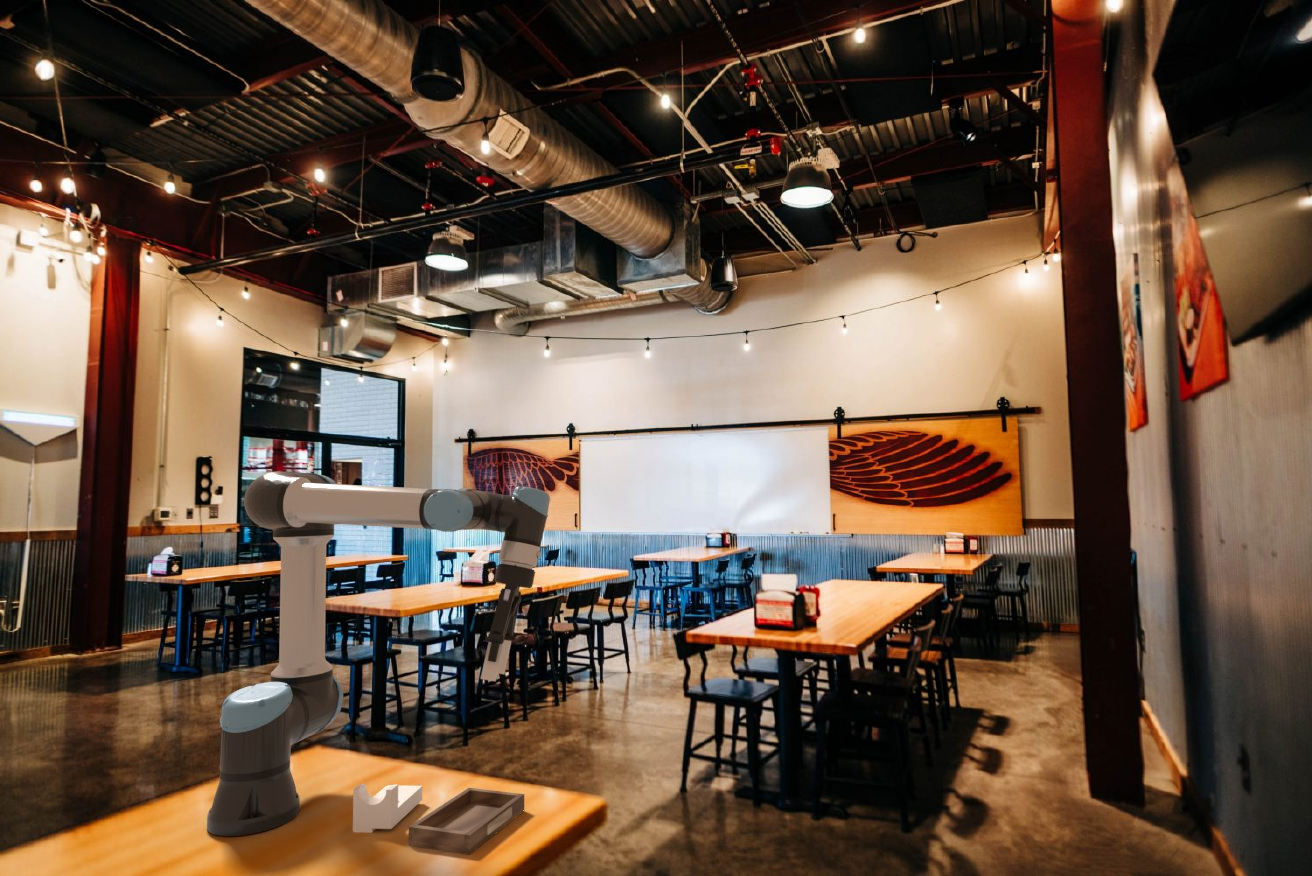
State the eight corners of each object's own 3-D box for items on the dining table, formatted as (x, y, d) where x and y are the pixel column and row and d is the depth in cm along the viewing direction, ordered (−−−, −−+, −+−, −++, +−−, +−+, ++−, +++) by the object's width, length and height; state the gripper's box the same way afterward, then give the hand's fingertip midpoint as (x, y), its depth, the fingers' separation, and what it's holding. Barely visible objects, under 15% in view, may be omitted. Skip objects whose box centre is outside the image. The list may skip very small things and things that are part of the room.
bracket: (391, 834, 130) (391, 790, 131) (352, 833, 131) (353, 789, 131) (422, 805, 143) (422, 764, 143) (387, 804, 144) (387, 763, 144)
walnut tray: (408, 845, 125) (408, 826, 125) (468, 804, 142) (468, 787, 142) (471, 854, 121) (471, 835, 121) (525, 811, 138) (525, 794, 138)
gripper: (530, 565, 134) (504, 687, 129) (540, 571, 159) (518, 673, 154) (489, 558, 134) (462, 679, 129) (505, 565, 158) (483, 667, 153)
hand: (493, 676), depth 141 cm, fingers open, 13 cm apart
